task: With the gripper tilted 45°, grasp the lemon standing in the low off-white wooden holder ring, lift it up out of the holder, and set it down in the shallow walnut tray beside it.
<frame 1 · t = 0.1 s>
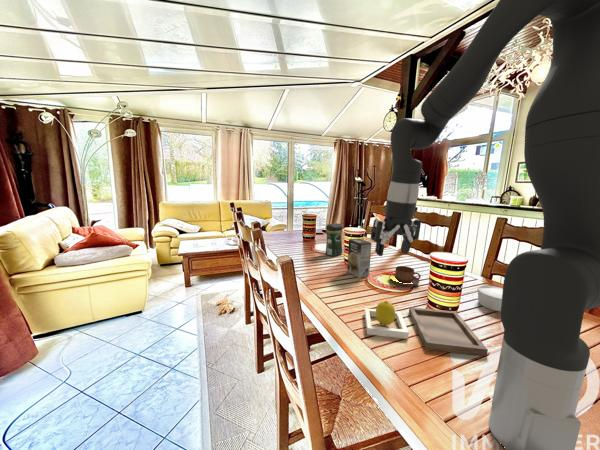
hand: (391, 254, 70), 22 cm above the table, tool pointing down, fingers open, 8 cm apart
lemon: (384, 326, 73), resting in holder frame
coffee jar: (333, 254, 144), on the table
holder frame: (384, 325, 73), on the table
cup and saucer: (403, 283, 104), on the table
ramekin: (494, 306, 85), on the table
walnut tray: (442, 331, 70), on the table
coffee box: (358, 274, 114), on the table
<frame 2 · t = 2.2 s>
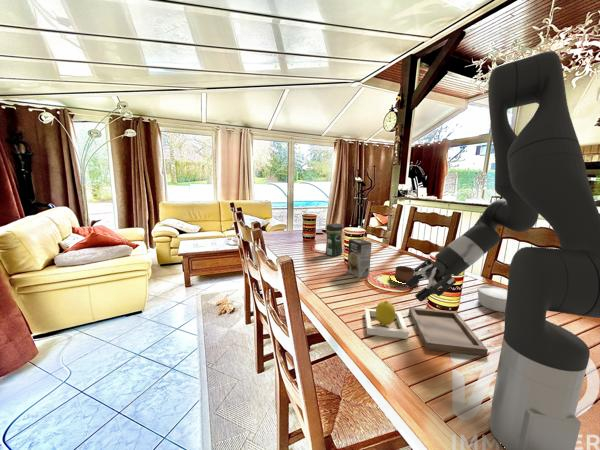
hand: (412, 291, 70), 11 cm above the table, tool tilted 45°, fingers open, 8 cm apart
nothing on the table moved.
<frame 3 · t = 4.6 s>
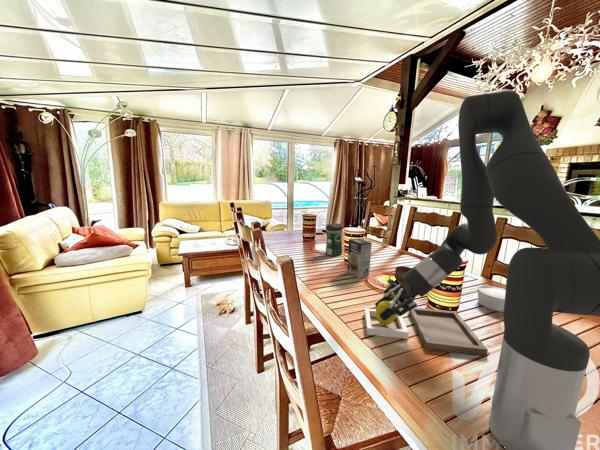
hand: (379, 312, 72), 4 cm above the table, tool tilted 45°, fingers closed on lemon, 5 cm apart
lemon: (384, 326, 73), resting in holder frame, touching gripper
everything else where it was.
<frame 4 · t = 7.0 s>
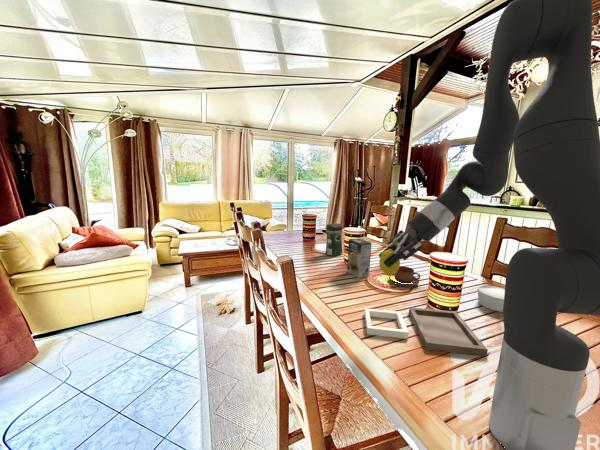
hand: (383, 261, 69), 20 cm above the table, tool tilted 45°, fingers closed on lemon, 5 cm apart
lemon: (388, 276, 70), point 16 cm above the table, touching gripper
everything else where it was.
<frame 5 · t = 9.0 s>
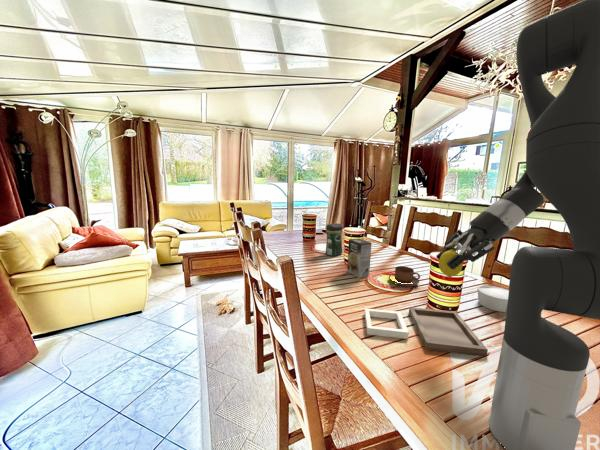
hand: (443, 262, 66), 21 cm above the table, tool tilted 45°, fingers closed on lemon, 5 cm apart
lemon: (448, 278, 67), point 16 cm above the table, touching gripper
everything else where it was.
when the fingers open (6 cm above the table, at t = 12.0 s): lemon stays where it is, resting on walnut tray.
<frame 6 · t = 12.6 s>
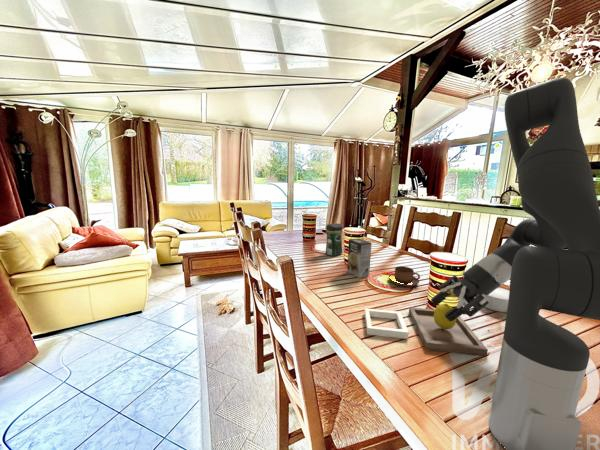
hand: (439, 310, 69), 7 cm above the table, tool tilted 45°, fingers open, 8 cm apart
lemon: (443, 330, 70), point 1 cm above the table, touching walnut tray
everything else where it was.
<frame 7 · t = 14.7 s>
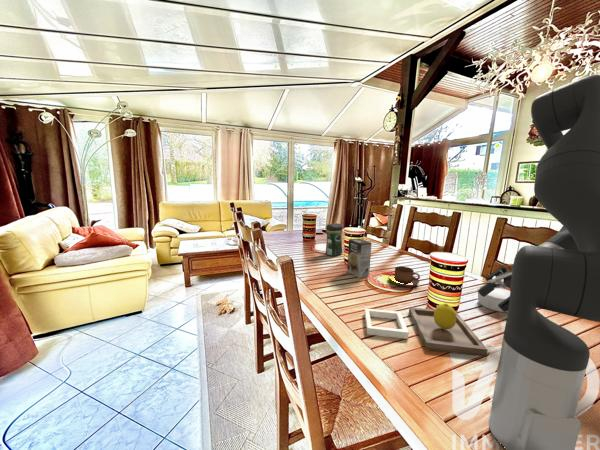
hand: (490, 301, 66), 11 cm above the table, tool tilted 45°, fingers open, 8 cm apart
nothing on the table moved.
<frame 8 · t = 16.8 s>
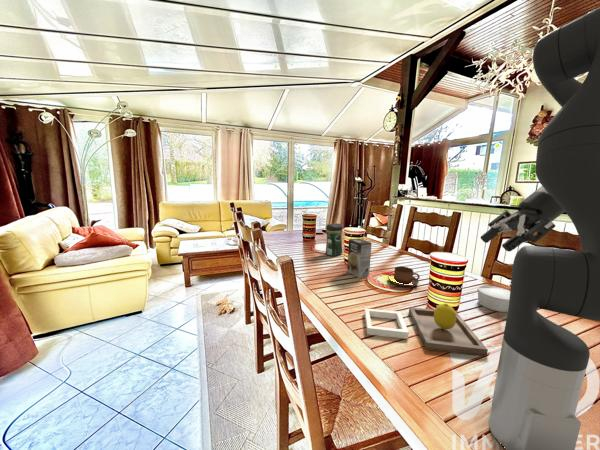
hand: (493, 244, 63), 27 cm above the table, tool tilted 45°, fingers open, 8 cm apart
nothing on the table moved.
at the end: lemon inside the target area on the walnut tray (0.2 cm from its centre), point 0.6 cm above the walnut tray's base; lemon touching walnut tray; the gripper is holding nothing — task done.
